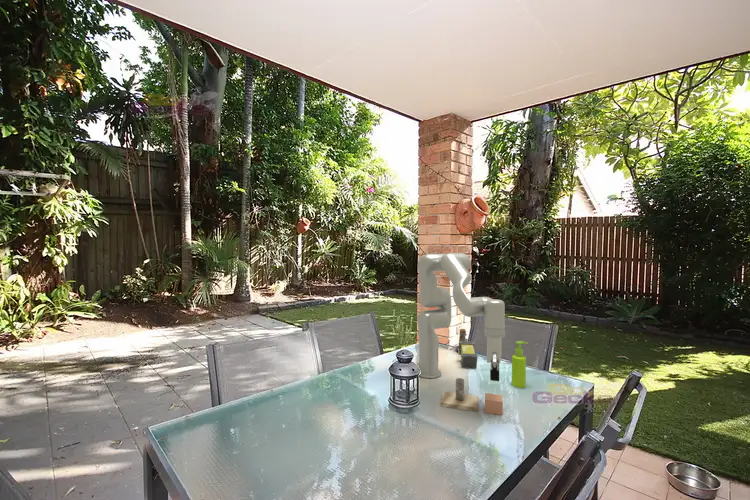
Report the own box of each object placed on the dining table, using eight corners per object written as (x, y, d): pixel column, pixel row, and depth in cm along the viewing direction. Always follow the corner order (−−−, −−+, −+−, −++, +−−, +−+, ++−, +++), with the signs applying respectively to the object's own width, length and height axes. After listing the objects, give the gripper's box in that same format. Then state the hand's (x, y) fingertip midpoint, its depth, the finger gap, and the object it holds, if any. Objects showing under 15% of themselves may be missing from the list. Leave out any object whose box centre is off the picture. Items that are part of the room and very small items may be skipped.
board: (440, 406, 141) (440, 382, 141) (444, 395, 151) (444, 372, 151) (477, 411, 136) (477, 387, 136) (478, 399, 146) (478, 377, 146)
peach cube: (484, 412, 135) (484, 399, 135) (485, 405, 142) (485, 392, 141) (502, 415, 133) (502, 402, 133) (502, 407, 139) (502, 395, 139)
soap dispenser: (530, 387, 159) (530, 343, 159) (514, 387, 159) (514, 343, 159) (524, 382, 165) (525, 340, 165) (509, 382, 165) (510, 339, 165)
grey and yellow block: (475, 382, 188) (467, 347, 216) (477, 356, 182) (469, 323, 210) (460, 381, 189) (454, 346, 217) (462, 355, 183) (455, 323, 211)
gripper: (485, 326, 146) (485, 368, 146) (483, 336, 130) (483, 383, 130) (504, 327, 144) (504, 370, 144) (505, 337, 128) (505, 385, 127)
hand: (494, 376), depth 137 cm, fingers open, 9 cm apart
